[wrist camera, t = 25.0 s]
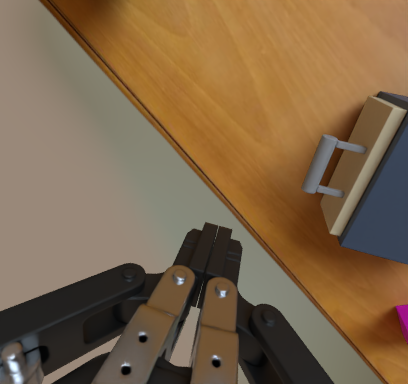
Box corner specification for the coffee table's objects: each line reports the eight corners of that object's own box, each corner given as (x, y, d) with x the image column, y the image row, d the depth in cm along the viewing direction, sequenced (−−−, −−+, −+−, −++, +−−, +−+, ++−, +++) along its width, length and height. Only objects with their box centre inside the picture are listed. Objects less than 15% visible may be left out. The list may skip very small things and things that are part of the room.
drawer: (287, 194, 36) (290, 223, 30) (327, 87, 29) (341, 96, 23) (429, 231, 34) (462, 269, 28) (507, 124, 27) (572, 145, 21)
